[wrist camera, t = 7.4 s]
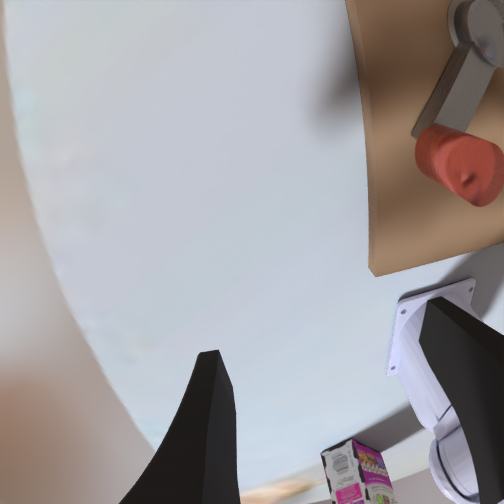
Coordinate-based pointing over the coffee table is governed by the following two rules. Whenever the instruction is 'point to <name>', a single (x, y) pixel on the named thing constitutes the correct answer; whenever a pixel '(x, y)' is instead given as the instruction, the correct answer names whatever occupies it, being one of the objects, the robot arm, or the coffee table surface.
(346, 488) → the candy bar box
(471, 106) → the lever
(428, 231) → the board
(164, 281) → the coffee table surface
